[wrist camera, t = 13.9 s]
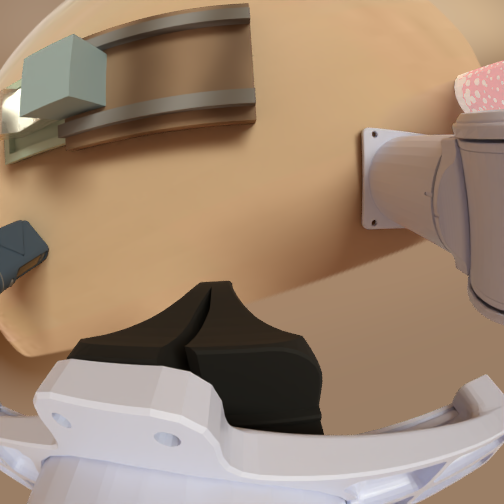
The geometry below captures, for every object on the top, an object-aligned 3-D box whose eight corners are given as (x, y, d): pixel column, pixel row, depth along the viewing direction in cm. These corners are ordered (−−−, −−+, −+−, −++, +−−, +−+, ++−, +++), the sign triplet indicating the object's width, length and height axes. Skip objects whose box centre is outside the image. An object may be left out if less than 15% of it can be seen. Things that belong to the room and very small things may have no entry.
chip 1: (3, 88, 12) (-9, 99, 13) (1, 133, 14) (-10, 142, 14) (37, 89, 16) (23, 98, 16) (36, 130, 17) (23, 137, 18)
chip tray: (76, 58, 16) (70, 54, 15) (75, 142, 19) (68, 142, 18) (13, 89, 16) (6, 87, 15) (13, 163, 19) (5, 164, 18)
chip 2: (66, 73, 15) (45, 70, 13) (65, 117, 17) (43, 117, 14) (40, 89, 16) (19, 88, 14) (39, 130, 18) (18, 131, 15)
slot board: (248, 14, 16) (248, -4, 13) (255, 123, 19) (256, 117, 16) (80, 50, 16) (62, 40, 13) (79, 149, 19) (58, 150, 16)
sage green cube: (107, 54, 15) (73, 33, 10) (105, 106, 16) (68, 95, 12) (61, 71, 15) (24, 58, 10) (60, 120, 16) (19, 117, 12)
